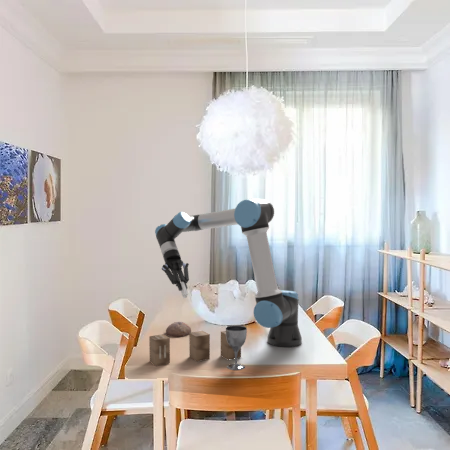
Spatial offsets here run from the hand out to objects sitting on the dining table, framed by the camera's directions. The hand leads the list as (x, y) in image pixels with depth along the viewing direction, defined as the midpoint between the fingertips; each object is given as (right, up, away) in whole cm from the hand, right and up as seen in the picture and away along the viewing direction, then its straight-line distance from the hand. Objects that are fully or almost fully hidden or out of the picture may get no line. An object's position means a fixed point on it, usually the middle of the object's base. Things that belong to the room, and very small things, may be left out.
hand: (185, 295), depth 207 cm
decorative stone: (-5, -21, +18) cm, 28 cm away
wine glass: (+21, -23, -26) cm, 41 cm away
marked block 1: (-8, -23, -21) cm, 32 cm away
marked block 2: (+19, -22, -15) cm, 33 cm away
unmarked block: (+7, -23, -16) cm, 29 cm away
